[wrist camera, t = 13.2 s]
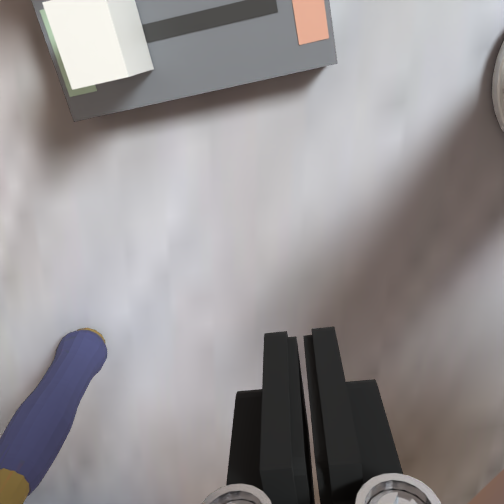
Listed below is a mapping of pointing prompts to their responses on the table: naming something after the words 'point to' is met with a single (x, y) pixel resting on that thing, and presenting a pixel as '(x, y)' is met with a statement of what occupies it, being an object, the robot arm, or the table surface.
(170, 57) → the breaker panel
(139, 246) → the table surface
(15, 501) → the rubber mallet
